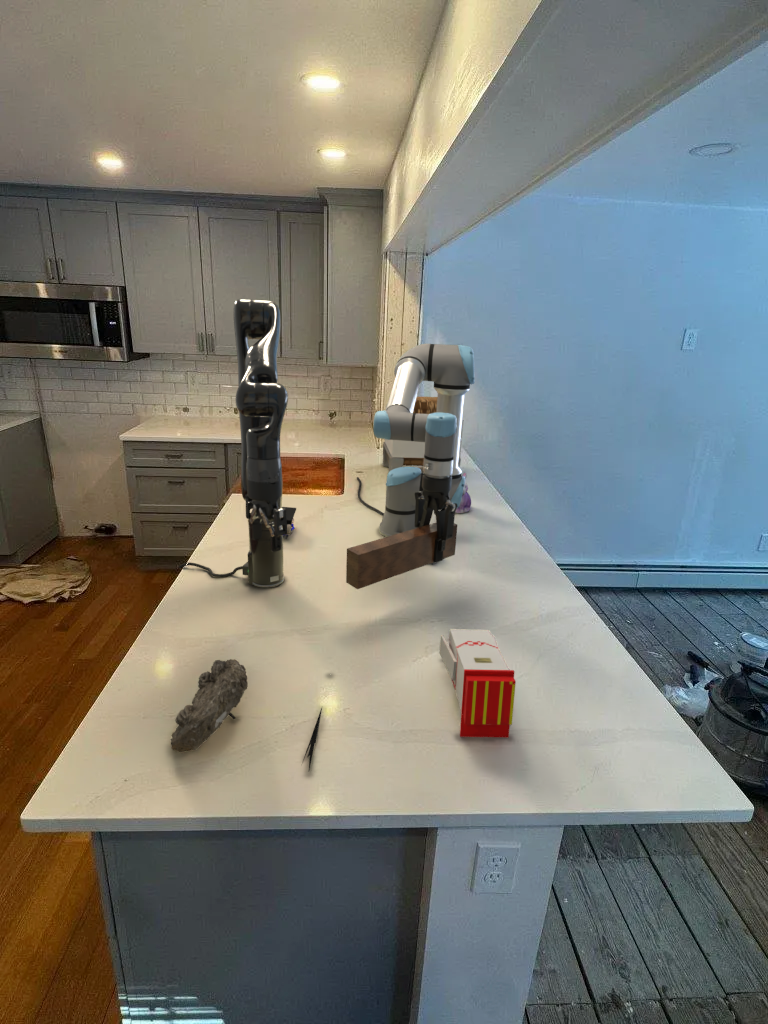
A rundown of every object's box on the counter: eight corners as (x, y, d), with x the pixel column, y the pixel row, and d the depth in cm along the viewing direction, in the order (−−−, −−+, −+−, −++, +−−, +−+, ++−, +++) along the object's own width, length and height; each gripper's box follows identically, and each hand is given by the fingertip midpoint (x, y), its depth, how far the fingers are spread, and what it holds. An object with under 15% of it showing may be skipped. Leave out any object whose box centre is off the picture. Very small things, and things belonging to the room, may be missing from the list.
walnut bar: (357, 589, 135) (358, 555, 132) (346, 582, 138) (346, 548, 135) (454, 554, 156) (457, 524, 153) (442, 549, 159) (445, 519, 156)
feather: (331, 679, 122) (336, 673, 122) (307, 777, 96) (313, 769, 95) (324, 675, 122) (329, 669, 121) (298, 772, 95) (304, 764, 95)
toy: (489, 613, 130) (525, 677, 101) (485, 667, 133) (518, 744, 104) (437, 612, 130) (457, 676, 101) (434, 666, 133) (453, 743, 103)
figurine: (457, 515, 220) (461, 478, 215) (443, 507, 229) (446, 471, 224) (477, 512, 224) (481, 475, 219) (462, 504, 233) (466, 469, 228)
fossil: (195, 660, 117) (247, 628, 112) (227, 691, 120) (279, 661, 115) (146, 746, 98) (206, 711, 93) (185, 779, 101) (245, 748, 96)
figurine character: (292, 545, 190) (297, 524, 203) (291, 525, 186) (296, 505, 200) (271, 544, 189) (278, 523, 203) (270, 524, 186) (277, 504, 199)
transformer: (381, 463, 289) (385, 382, 275) (444, 464, 292) (450, 384, 279) (389, 482, 257) (393, 392, 243) (459, 483, 261) (467, 394, 247)
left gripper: (233, 470, 126) (236, 538, 131) (265, 487, 116) (267, 559, 121) (263, 466, 131) (265, 531, 136) (296, 481, 121) (297, 551, 126)
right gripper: (403, 468, 149) (398, 549, 157) (452, 485, 136) (445, 572, 144) (423, 464, 154) (418, 543, 162) (473, 480, 141) (464, 565, 149)
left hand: (266, 544), depth 129 cm, fingers open, 8 cm apart
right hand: (431, 557), depth 153 cm, fingers closed on walnut bar, 4 cm apart
